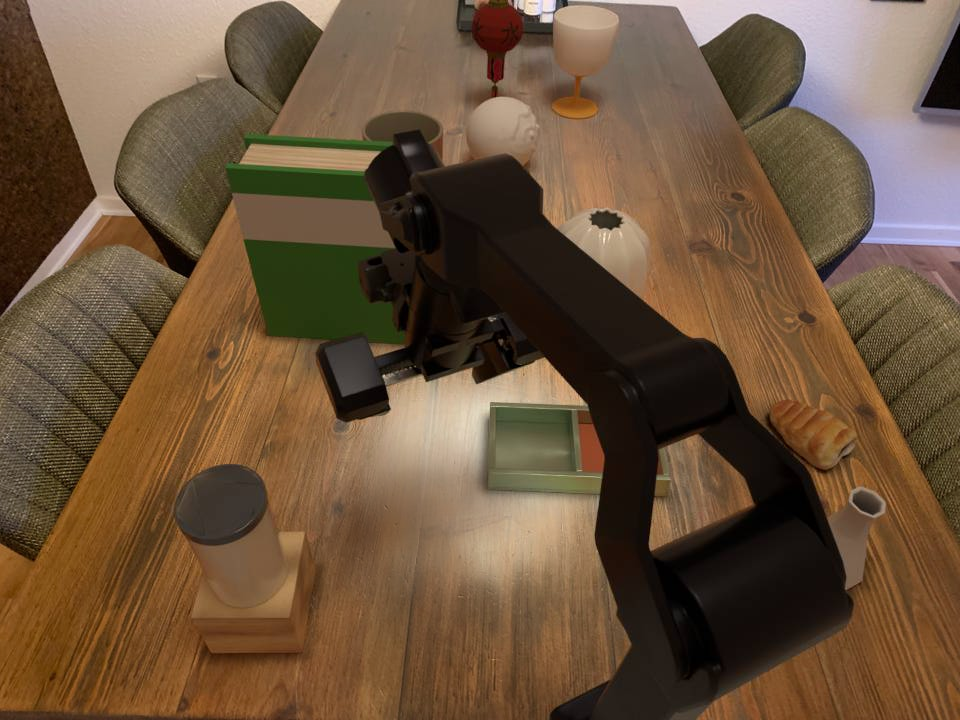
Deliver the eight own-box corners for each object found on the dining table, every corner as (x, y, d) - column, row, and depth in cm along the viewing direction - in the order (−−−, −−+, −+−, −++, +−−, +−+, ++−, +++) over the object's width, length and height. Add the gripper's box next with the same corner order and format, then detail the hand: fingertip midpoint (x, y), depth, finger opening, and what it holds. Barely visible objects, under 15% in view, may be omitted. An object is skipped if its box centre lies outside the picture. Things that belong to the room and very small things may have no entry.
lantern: (485, 124, 133) (491, -55, 112) (460, 104, 139) (462, -71, 117) (527, 114, 136) (541, -62, 115) (502, 94, 142) (510, -77, 121)
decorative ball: (522, 192, 117) (527, 123, 108) (455, 176, 120) (454, 108, 111) (544, 158, 125) (551, 92, 116) (481, 144, 127) (483, 79, 119)
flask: (809, 513, 74) (847, 455, 67) (877, 559, 71) (924, 502, 64) (775, 557, 71) (810, 500, 63) (844, 607, 67) (890, 553, 60)
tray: (665, 496, 75) (671, 480, 73) (487, 489, 75) (488, 472, 73) (652, 425, 82) (657, 408, 80) (489, 418, 82) (490, 401, 80)
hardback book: (267, 335, 91) (225, 167, 74) (283, 298, 96) (246, 133, 79) (404, 344, 91) (393, 177, 74) (412, 306, 96) (403, 142, 79)
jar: (263, 620, 57) (233, 551, 50) (194, 594, 59) (154, 522, 51) (304, 552, 62) (282, 478, 54) (238, 528, 63) (208, 453, 56)
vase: (524, 283, 100) (532, 201, 90) (610, 261, 104) (625, 180, 95) (571, 346, 91) (585, 263, 82) (662, 320, 95) (685, 237, 86)
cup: (564, 89, 144) (574, 0, 132) (615, 106, 140) (631, 15, 128) (533, 110, 137) (540, 18, 125) (585, 128, 133) (599, 34, 121)
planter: (398, 221, 110) (393, 157, 102) (352, 187, 116) (345, 125, 109) (459, 194, 116) (459, 131, 108) (413, 163, 122) (410, 102, 114)
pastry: (753, 426, 82) (763, 404, 80) (784, 399, 86) (795, 377, 83) (826, 477, 78) (840, 456, 75) (857, 446, 81) (871, 425, 78)
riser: (302, 653, 63) (289, 617, 58) (211, 653, 62) (190, 618, 57) (316, 569, 68) (305, 531, 63) (232, 570, 68) (214, 531, 63)
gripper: (518, 188, 57) (486, 296, 70) (286, 244, 51) (300, 349, 64) (582, 300, 52) (534, 392, 66) (337, 375, 46) (340, 459, 60)
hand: (429, 394), depth 64 cm, fingers open, 9 cm apart
